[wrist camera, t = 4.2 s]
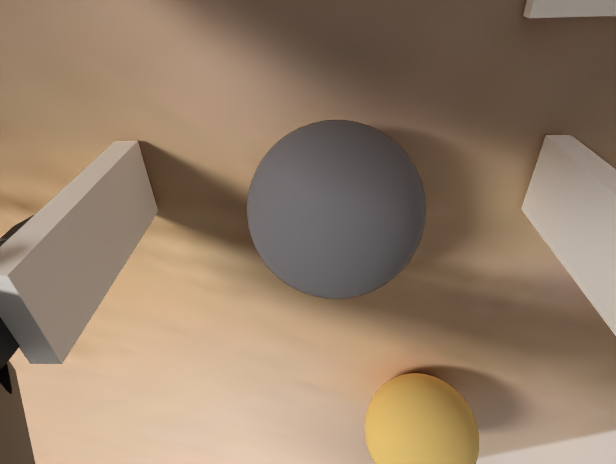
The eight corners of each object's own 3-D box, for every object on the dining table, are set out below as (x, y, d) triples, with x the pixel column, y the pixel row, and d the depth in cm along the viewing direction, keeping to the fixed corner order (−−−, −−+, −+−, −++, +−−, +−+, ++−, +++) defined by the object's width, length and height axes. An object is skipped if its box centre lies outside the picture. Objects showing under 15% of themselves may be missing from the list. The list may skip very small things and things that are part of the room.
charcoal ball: (266, 230, 15) (245, 336, 11) (251, 96, 12) (215, 173, 8) (400, 230, 15) (429, 337, 11) (418, 93, 12) (466, 171, 8)
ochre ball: (358, 409, 22) (366, 515, 18) (363, 350, 19) (374, 461, 15) (451, 410, 22) (480, 518, 18) (470, 351, 19) (510, 464, 15)
